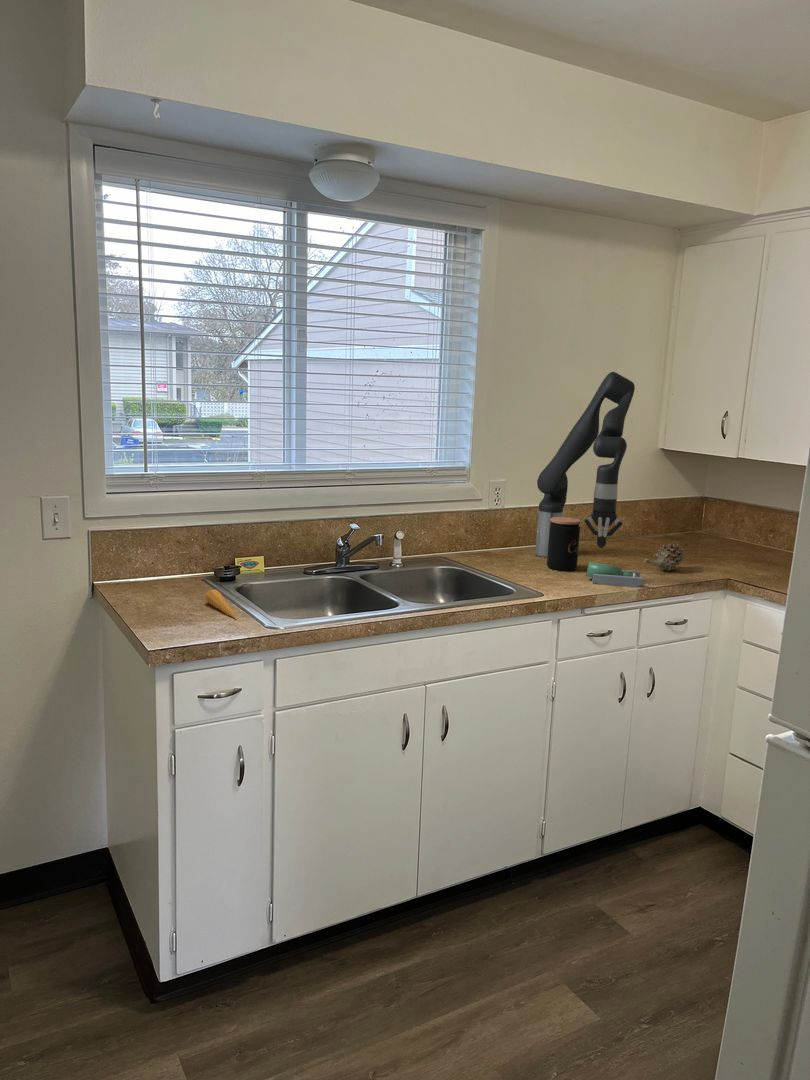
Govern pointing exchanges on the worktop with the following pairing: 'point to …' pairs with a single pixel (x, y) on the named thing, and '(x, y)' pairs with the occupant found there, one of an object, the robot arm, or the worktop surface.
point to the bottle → (605, 570)
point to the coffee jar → (563, 543)
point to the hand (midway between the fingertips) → (600, 547)
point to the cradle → (619, 579)
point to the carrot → (219, 602)
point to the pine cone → (667, 557)
